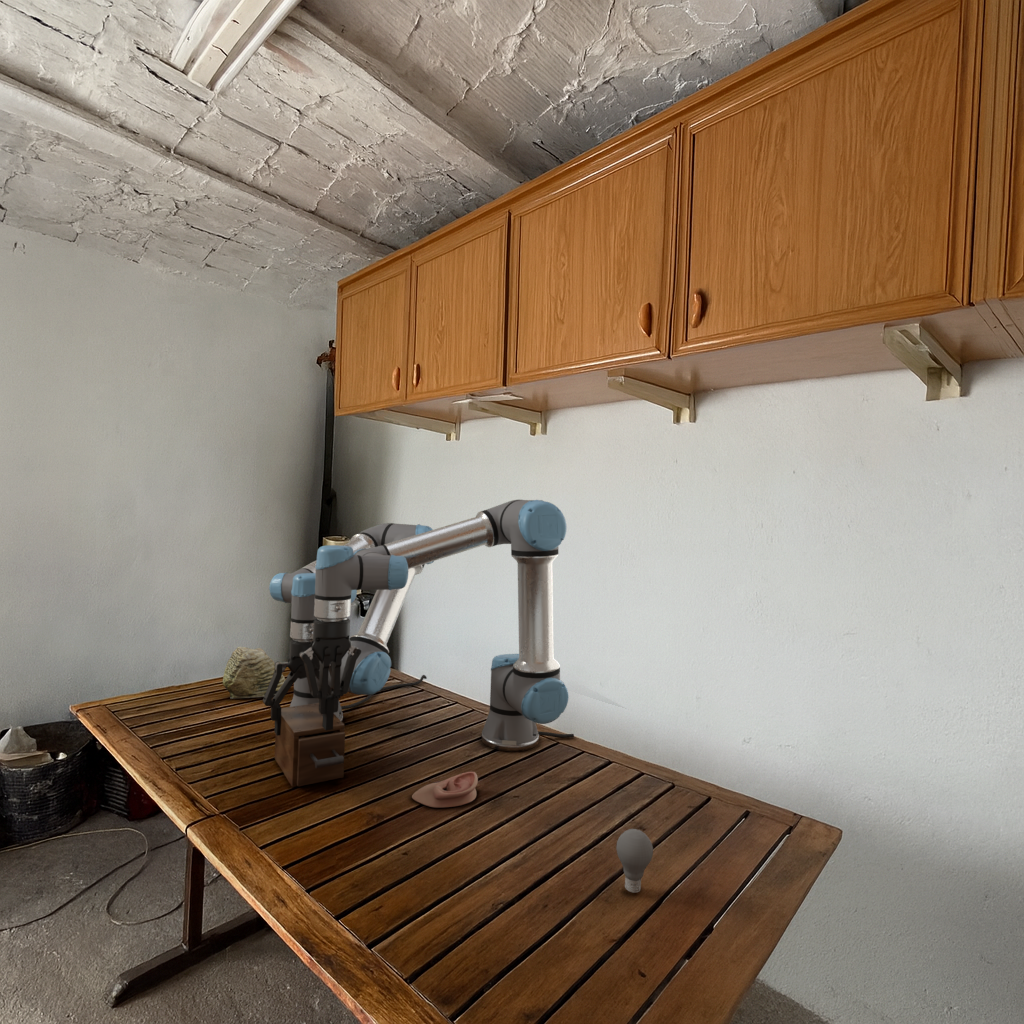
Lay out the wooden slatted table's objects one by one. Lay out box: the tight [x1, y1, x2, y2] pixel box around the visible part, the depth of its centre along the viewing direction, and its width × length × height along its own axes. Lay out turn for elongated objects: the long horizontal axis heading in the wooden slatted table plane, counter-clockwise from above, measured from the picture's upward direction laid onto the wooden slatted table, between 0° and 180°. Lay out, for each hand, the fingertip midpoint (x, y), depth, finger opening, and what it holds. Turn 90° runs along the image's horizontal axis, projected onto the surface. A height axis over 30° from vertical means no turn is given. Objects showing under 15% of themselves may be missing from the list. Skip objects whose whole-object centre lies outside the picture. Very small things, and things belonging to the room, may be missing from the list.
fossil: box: [222, 646, 286, 699], centre depth 198 cm, size 9×18×15 cm, turn 132°
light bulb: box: [615, 828, 654, 894], centre depth 106 cm, size 6×6×10 cm
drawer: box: [296, 731, 346, 788], centre depth 142 cm, size 22×10×10 cm, turn 33°
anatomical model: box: [411, 771, 479, 809], centre depth 136 cm, size 13×4×12 cm
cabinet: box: [274, 703, 345, 788], centre depth 148 cm, size 17×11×12 cm, turn 33°
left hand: (303, 729), depth 152 cm, fingers closed on cabinet, 11 cm apart
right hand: (327, 727), depth 135 cm, fingers closed
